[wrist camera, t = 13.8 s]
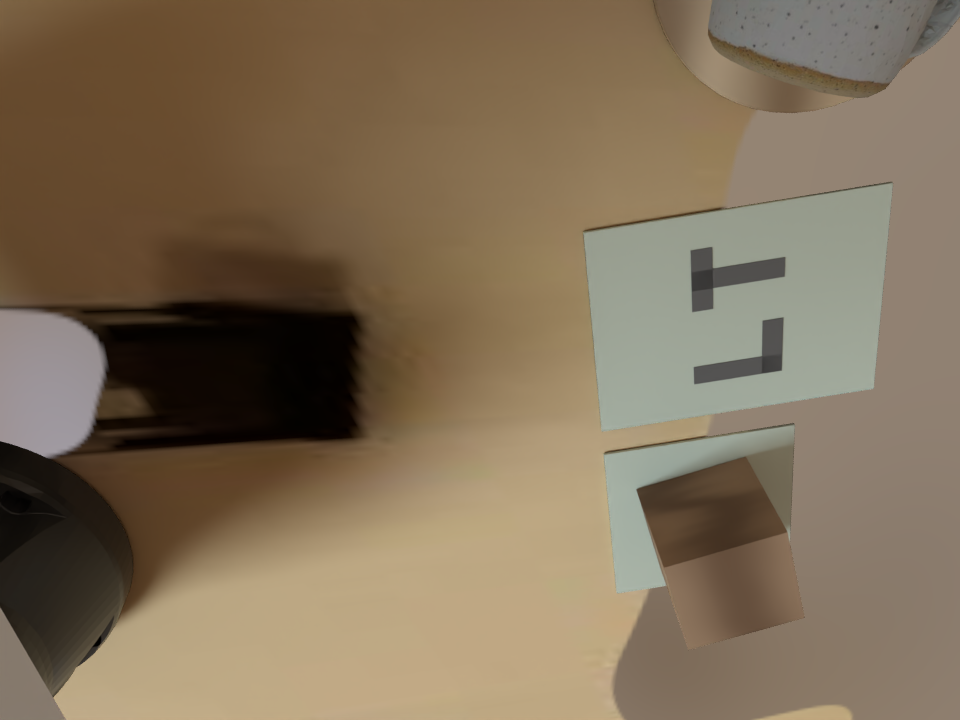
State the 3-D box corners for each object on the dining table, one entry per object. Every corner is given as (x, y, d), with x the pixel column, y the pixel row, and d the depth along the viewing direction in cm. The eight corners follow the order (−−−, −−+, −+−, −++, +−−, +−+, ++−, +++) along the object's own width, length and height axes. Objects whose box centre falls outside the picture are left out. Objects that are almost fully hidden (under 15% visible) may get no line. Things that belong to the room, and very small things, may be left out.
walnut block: (660, 567, 50) (688, 650, 45) (636, 489, 47) (663, 568, 42) (763, 537, 50) (804, 617, 44) (745, 456, 47) (787, 532, 41)
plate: (616, 591, 51) (617, 593, 51) (603, 453, 46) (604, 455, 46) (787, 564, 51) (789, 567, 51) (793, 423, 46) (795, 425, 46)
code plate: (601, 429, 45) (602, 432, 45) (583, 231, 40) (584, 233, 40) (872, 386, 45) (874, 389, 45) (891, 181, 40) (893, 183, 40)
